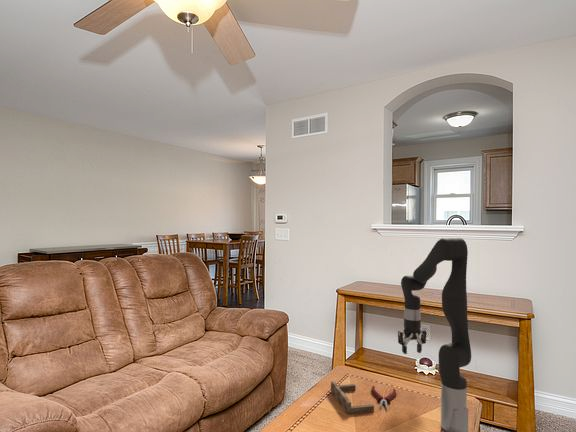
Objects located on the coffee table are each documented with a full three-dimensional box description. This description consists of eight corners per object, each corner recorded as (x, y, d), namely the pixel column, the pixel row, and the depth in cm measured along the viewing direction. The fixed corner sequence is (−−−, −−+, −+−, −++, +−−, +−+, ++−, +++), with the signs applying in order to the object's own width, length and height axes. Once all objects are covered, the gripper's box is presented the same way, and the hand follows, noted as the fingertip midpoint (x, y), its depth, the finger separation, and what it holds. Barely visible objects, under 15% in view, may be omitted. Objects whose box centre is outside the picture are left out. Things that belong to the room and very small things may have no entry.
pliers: (370, 410, 155) (370, 404, 155) (371, 389, 174) (371, 384, 174) (397, 414, 152) (397, 408, 152) (396, 393, 171) (396, 387, 171)
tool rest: (373, 411, 153) (374, 400, 153) (347, 414, 150) (347, 402, 150) (354, 389, 173) (354, 378, 173) (330, 391, 170) (330, 380, 170)
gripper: (402, 320, 164) (402, 357, 163) (430, 319, 167) (430, 354, 166) (394, 316, 171) (394, 351, 171) (421, 315, 174) (420, 349, 174)
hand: (411, 352), depth 168 cm, fingers open, 7 cm apart
